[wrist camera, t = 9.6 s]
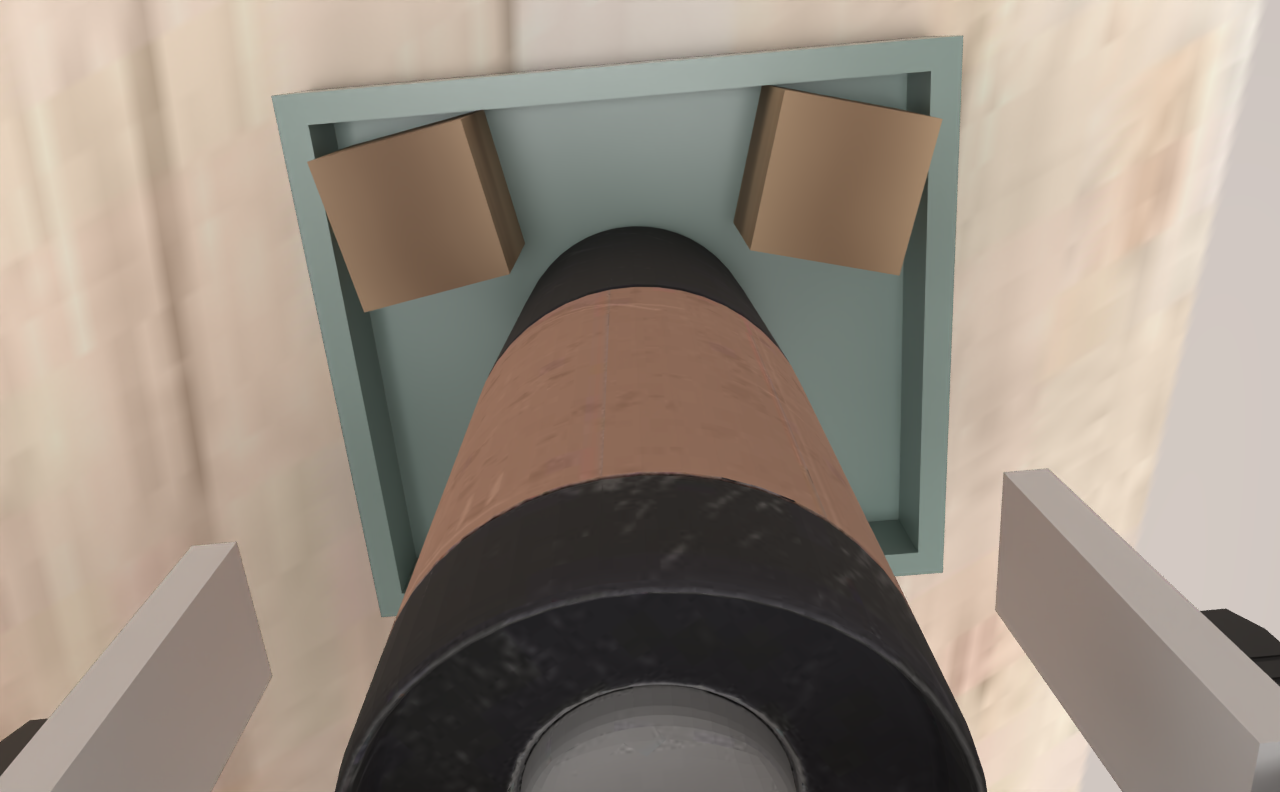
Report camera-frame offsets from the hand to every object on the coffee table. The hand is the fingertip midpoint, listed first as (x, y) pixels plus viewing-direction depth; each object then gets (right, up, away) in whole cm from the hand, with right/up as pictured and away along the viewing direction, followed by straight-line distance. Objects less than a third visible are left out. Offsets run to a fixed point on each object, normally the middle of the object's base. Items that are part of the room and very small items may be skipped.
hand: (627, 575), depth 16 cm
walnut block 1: (-6, +9, +11) cm, 16 cm away
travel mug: (0, +5, +13) cm, 14 cm away
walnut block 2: (+5, +10, +11) cm, 16 cm away
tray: (0, +5, +14) cm, 15 cm away
